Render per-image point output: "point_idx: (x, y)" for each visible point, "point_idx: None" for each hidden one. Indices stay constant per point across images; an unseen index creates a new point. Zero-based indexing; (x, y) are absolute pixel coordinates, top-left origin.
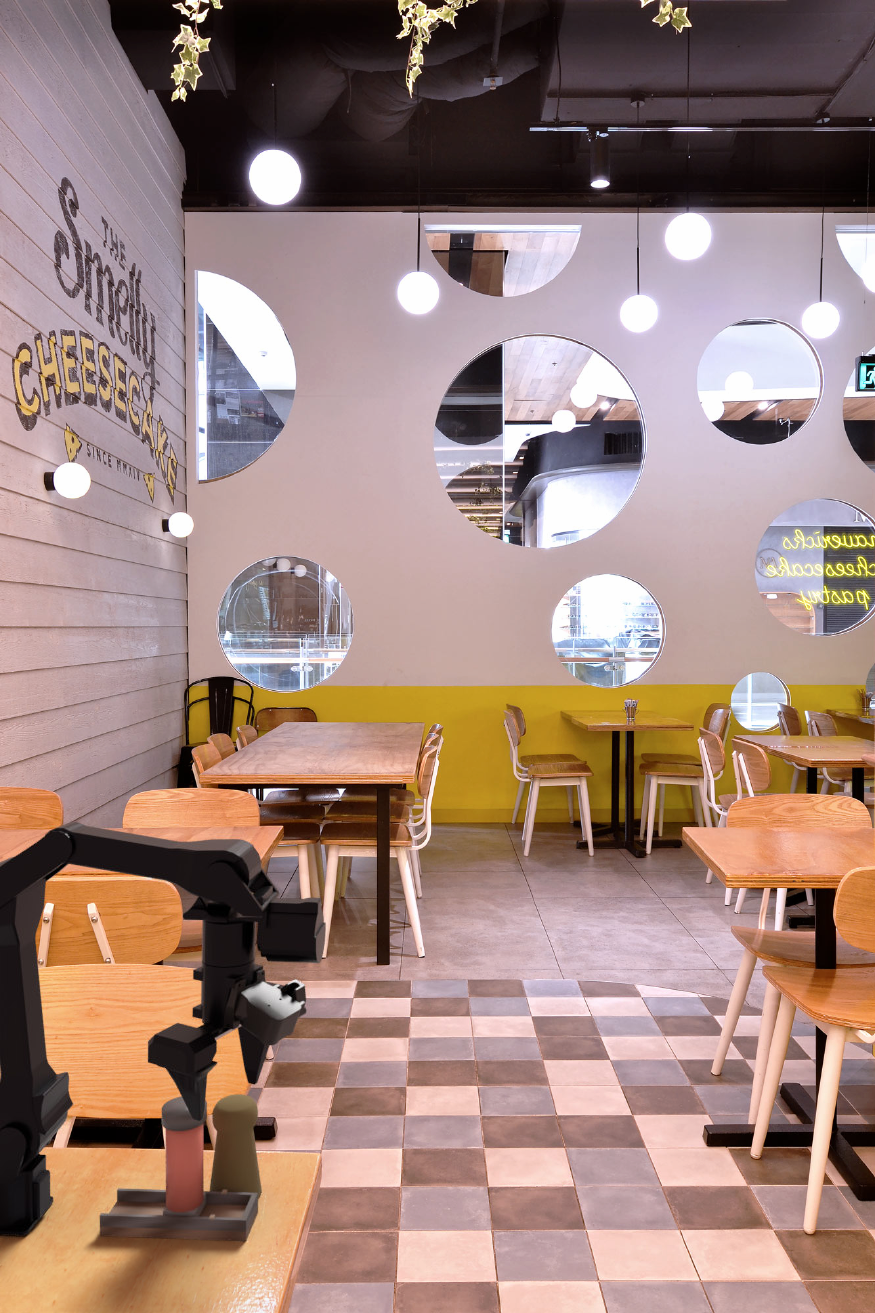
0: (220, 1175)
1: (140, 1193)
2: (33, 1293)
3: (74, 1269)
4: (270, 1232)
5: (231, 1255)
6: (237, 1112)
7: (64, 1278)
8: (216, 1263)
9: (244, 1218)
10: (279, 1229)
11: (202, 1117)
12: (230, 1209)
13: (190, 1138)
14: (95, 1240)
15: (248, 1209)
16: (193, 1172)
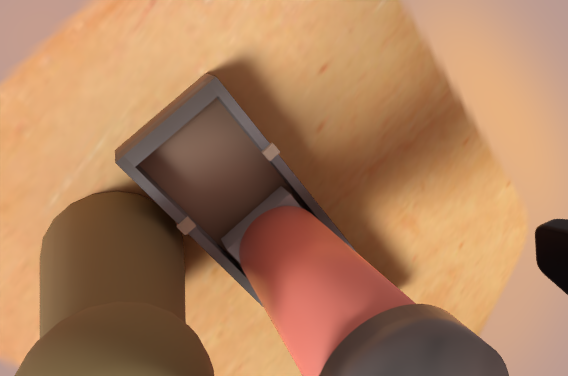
0: (182, 269)
1: None
2: (513, 223)
3: (454, 236)
4: (138, 55)
5: (259, 56)
6: (157, 363)
7: (473, 225)
8: (297, 58)
9: (215, 86)
10: (112, 46)
11: (551, 225)
12: (186, 183)
13: (393, 295)
14: None
15: (183, 113)
16: (327, 241)
